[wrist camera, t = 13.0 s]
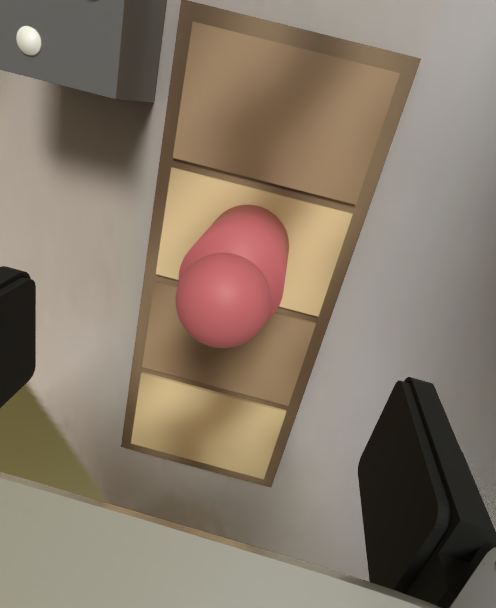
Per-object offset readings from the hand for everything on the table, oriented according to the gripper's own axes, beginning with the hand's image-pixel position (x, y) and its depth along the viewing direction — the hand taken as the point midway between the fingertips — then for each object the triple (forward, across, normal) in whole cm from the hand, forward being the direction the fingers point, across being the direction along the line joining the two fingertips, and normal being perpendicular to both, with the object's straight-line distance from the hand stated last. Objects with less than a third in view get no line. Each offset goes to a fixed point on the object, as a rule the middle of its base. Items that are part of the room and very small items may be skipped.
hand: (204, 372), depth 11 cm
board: (+14, +1, +4) cm, 15 cm away
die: (+15, +10, -7) cm, 19 cm away
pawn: (+13, +1, +1) cm, 13 cm away
